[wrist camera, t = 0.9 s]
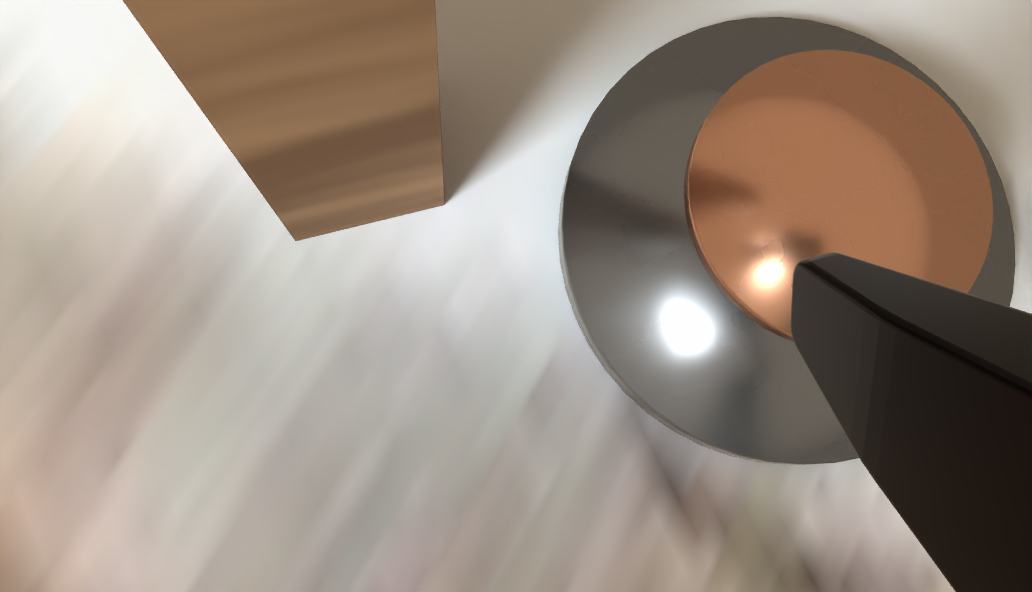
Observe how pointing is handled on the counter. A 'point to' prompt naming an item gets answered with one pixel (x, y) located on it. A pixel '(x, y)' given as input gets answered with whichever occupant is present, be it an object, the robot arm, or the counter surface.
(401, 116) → the walnut stick
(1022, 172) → the counter surface
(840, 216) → the copper topped disc
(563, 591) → the counter surface
